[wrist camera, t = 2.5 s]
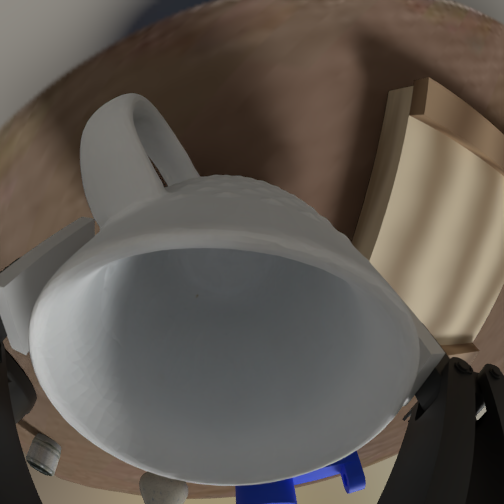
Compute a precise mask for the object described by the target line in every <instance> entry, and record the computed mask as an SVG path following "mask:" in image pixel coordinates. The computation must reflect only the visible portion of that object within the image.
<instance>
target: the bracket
mask: <svg viewBox="0 0 504 504" xmlns="http://www.w3.org/2000/svg"><path fill="white" fill-rule="evenodd" d="M340 473H341V477H342V480H343V484H344V488H345V490H346V492H347V493H352V492H355V491H359V490H362V489H364V488H365V484H366V483H365V476H364V472H363V469H362V466H361V463H360V460H359V457H358V454H357V451H355V452H353V453H351V454H350V455H348V456H346V457H344V458H343V459H341V460H339V461H337V462H335V463H332V464H330V465H328V466H326V467H323V468H320V469H318V470H315V471H312V472H309V473H306V474H303V475H300V476H297V477H293V478H289V479H284V480H280V481H275V482H270V483H262V484H254V485H238V486H235V487H236V504H297V501H296V495H295V488H294V485H296V484H301V483H305V482H310V481H314V480H318V479H322V478H326V477H329V476H333V475H336V474H340Z"/></svg>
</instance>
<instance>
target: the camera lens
mask: <svg viewBox="0 0 504 504" xmlns="http://www.w3.org/2000/svg"><path fill="white" fill-rule="evenodd" d="M60 454H61V447H60V446H59V445H58V444H57V443H56V442H55V441H53V440H52V439H50V438H49V437H47V436H45V435H43V434H40V433H38V434H37V435H36V436H35V437H34V439H33V441H32V444H31V446H30V449H29V451H28V454H27V456H26V460H27V462H28V463H29V464H30V466H32V467H33V468H34V469H36V470H37V471H39V472H41V473H43V474H45V475H49V476H53V475H54V473H55V470H56V467H57V464H58V461H59V458H60Z"/></svg>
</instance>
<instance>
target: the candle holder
mask: <svg viewBox="0 0 504 504" xmlns="http://www.w3.org/2000/svg"><path fill="white" fill-rule="evenodd" d="M139 487H140V492H141V495H142V497H143V500H144V503H145V504H183V503H184V502H185V500H186V498H187V496H188V486H187V484H186V482H185V481H180V480H176V479H171V478H167V477H164V476H160V475H157V474H154V473H151V472H148V471H147V472H146V473H144V474H143V475H142V476H141V478H140V481H139Z"/></svg>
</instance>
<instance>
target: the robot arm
mask: <svg viewBox="0 0 504 504" xmlns="http://www.w3.org/2000/svg"><path fill="white" fill-rule="evenodd" d="M94 236H95V219H93V218H86V217H81V218H79V219H77V220H76V221H74V222H73V223H71V224H69V225H68V226H66V227H65V228H63V229H61V230H60V231H58V232H57V233H55V234H54V235H52V236H51V237H49V238H48V239H46V240H45V241H43V242H42V243H40V244H39V245H38V246H36V247H35V248H33V249H32V250H31V251H29V252H28V253H26V254H25V255H24V256H22V257H21V258H18V259H16V260H15V261H14V262H12V263H11V264H10V266H7V267H6V268H5V269H4V270H3V271H1V272H0V504H42V502H41V500H40V498H39V496H38V493H37V490H36V488H35V485H34V483H33V480H32V478H31V475H30V473H29V469H28V467H27V464H26V461H25V458H24V454H23V451H22V448H21V444H20V440H19V437H18V433H17V429H16V423H17V422H18V421H20V420H21V419H22V418H23V417H24V416H25V415H26V414H28V413H29V412H30V411H31V410H32V408H33V406H34V404H35V402H36V399H37V397H36V393H35V390H34V388H33V386H32V384H31V382H30V381H29V379H28V378H27V376H26V375H25V373H24V372H23V371H22V369H21V368H20V367H19V366H18V364H17V363H16V362H15V361H14V360H13V358H12V357H11V356H10V355H9V354H8V353H7V352H6V351H5V347H4V344H3V340H4V339H5V338H6V336H7V337H8V340H9V342H10V345H11V347H12V349H14V350H16V351H18V352H20V353H22V354H25V355H27V353H28V352H29V343H28V329H29V320H30V317H31V313H32V310H33V307H34V305H35V302H36V300H37V298H38V297H39V295H40V293H41V291H42V290H43V288H44V286H45V285H46V284H47V282H48V281H49V280H50V278H51V277H52V276H53V275H54V274H55V273H56V271H57V270H58V269H59V268H60V267H61V266H62V265H63V264H64V263H65V262H66V261H67V260H68V259H69V258H70V257H72V256H73V255H74V254H75V253H76V252H77V251H78V250H79V249H80V248H81V247H83V246H84V245H85V244H86V243H87V242H89V241H90V240H91V239H92V238H93V237H94ZM398 296H399V295H398ZM399 297H400V296H399ZM400 298H401V297H400ZM401 300H402V299H401ZM402 301H403V300H402ZM403 303H404V304H405V305H406V303H405V302H404V301H403ZM406 307H407V309H408V310H409V312H410V314H411V317H412V319H413V322H414V324H415V327H416V330H417V334H418V339H419V346H420V359H419V366H418V371H417V376H416V379H415V382H414V384H413V387H412V389H411V392H410V394H409V396H408V397H407V399H406V401H405V403H404V404H403V406H406V405H407V404H408V403H409V401H410V400H411V399H412V398H413V397H414V395H415V396H416V398H417V400H418V401H417V403H416V404H415V405H414V406H413V407H412V408H411V410H410V411H409V412H408V413H407V414H406V415H405V416H404V418H403V419H402V420H404V421H405V420H406V419H407V417H409V416H410V420H409V421H408V422H409V423H408V427H407V430H406V433H405V436H404V439H403V442H402V445H401V448H400V451H399V454H398V456H397V459H396V462H395V464H394V467H393V469H392V472H391V474H390V476H389V479H388V481H387V484H386V486H385V488H384V490H383V492H382V494H381V496H380V499H379V501H378V503H377V504H504V376H503V374H502V372H501V371H500V369H499V368H498V367H497V366H495V365H492V364H486V365H485V366H484V367H483V368H482V370H481V371H480V373H476V372H473V369H472V367H471V366H470V365H469V364H468V363H467V362H466V361H464V360H463V359H461V358H458V357H452V358H450V357H449V356H448V355H447V353H446V352H445V351H444V350H443V348H442V347H441V346H440V344H439V343H438V342H437V340H436V339H434V337H433V335H432V334H431V333H429V330H428V329H427V328H426V327H425V325H424V324H423V323H422V322H421V321H420V320H419V319H418V318H417V316H416V315H415V314H414V313H413V312H412V310H411V309H410V308H409V307H408V306H407V305H406ZM484 406H486V410H487V411H486V412H485V413H484V415H483V416H482V417H481V418H480V419H479V420H476V415H477V414H478V413H479V412H480V411H481V410H482V409H483V408H484Z"/></svg>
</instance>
